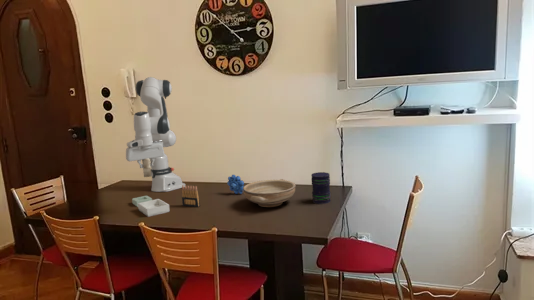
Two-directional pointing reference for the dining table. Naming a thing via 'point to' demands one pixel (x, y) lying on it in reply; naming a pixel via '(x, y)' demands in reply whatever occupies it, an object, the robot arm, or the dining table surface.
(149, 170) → the dowel
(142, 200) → the holder
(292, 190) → the ceramic bowl
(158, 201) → the tray
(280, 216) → the dining table surface
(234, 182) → the grapes
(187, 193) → the ammunition clip
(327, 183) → the storage jar
